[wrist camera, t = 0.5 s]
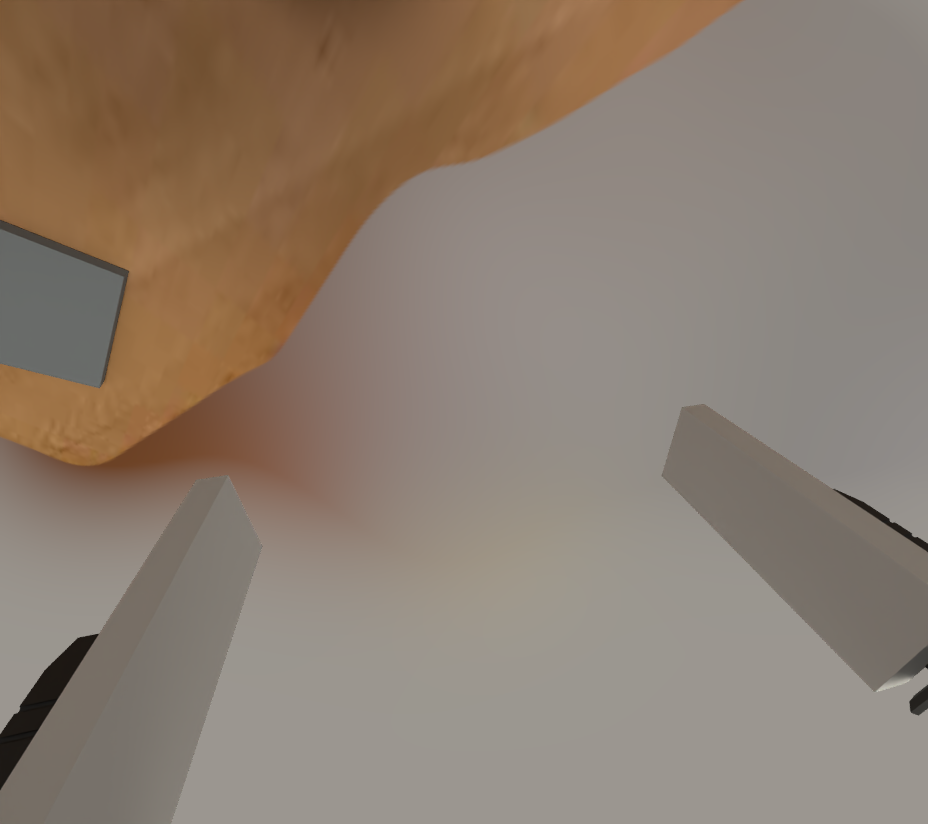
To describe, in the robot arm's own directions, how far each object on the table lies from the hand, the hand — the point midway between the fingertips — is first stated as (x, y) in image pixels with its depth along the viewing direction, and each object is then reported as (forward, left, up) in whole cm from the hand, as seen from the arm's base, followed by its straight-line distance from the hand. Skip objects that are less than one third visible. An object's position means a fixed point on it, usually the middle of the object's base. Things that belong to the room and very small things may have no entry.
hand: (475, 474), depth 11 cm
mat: (+21, -20, -27) cm, 40 cm away
